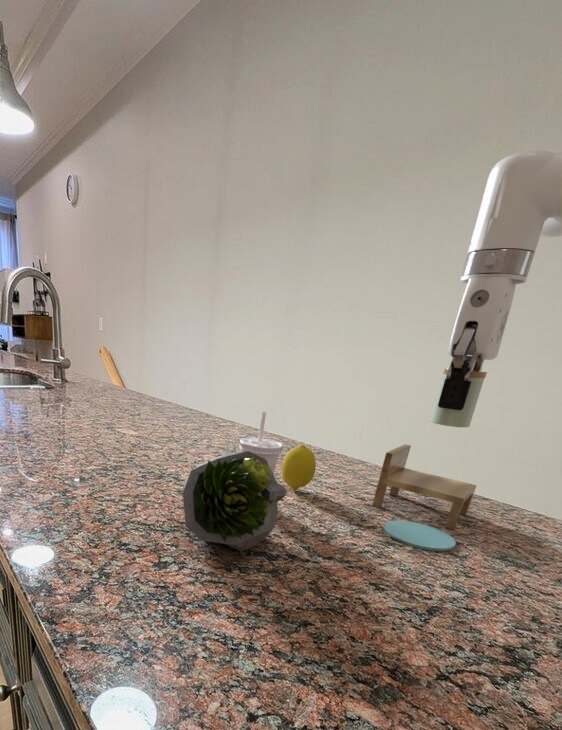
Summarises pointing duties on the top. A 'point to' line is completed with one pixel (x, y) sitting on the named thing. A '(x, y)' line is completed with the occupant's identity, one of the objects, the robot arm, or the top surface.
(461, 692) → the top surface
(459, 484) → the toy wooden bed
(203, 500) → the potted plant
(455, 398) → the robot arm
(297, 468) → the lemon
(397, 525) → the coaster
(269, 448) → the smoothie
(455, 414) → the spice jar
